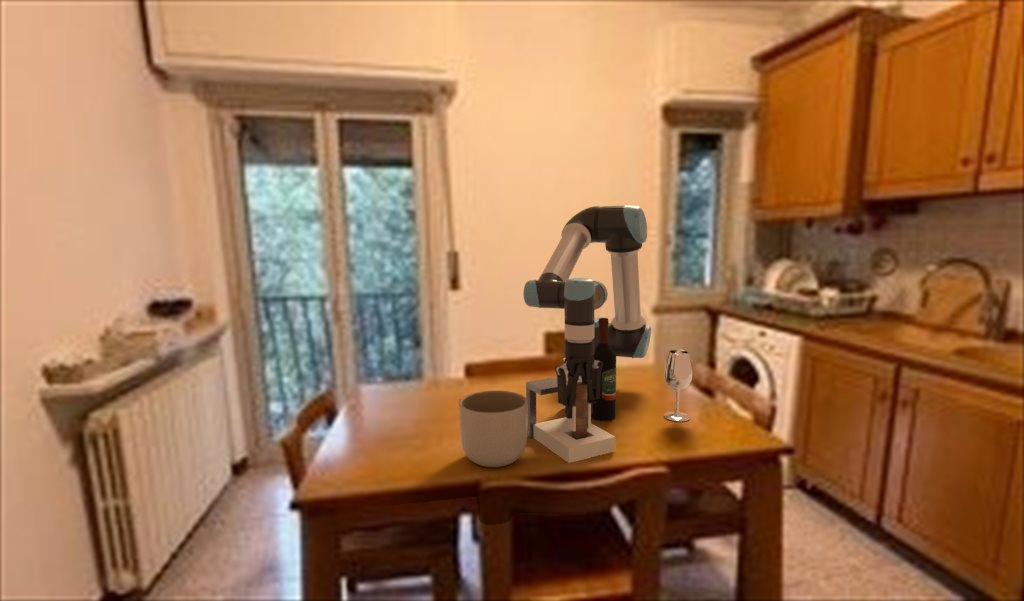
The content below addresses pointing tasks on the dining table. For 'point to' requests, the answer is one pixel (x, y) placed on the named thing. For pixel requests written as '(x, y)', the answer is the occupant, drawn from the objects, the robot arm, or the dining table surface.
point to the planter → (493, 427)
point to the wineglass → (678, 379)
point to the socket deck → (573, 440)
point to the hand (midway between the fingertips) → (579, 427)
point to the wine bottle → (605, 376)
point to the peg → (580, 411)
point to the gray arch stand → (542, 389)
